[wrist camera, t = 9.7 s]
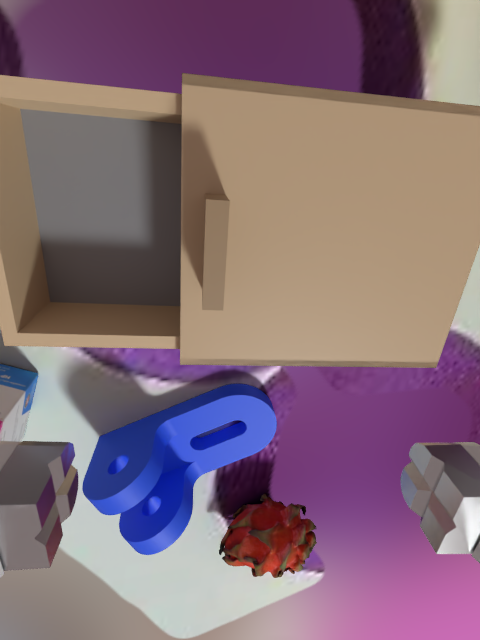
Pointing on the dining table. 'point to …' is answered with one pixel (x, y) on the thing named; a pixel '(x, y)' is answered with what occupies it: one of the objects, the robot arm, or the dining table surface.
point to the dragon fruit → (269, 538)
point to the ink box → (15, 401)
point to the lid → (323, 224)
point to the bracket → (173, 461)
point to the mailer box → (89, 215)
